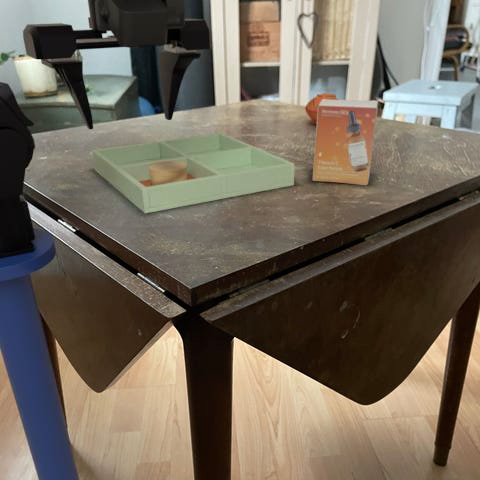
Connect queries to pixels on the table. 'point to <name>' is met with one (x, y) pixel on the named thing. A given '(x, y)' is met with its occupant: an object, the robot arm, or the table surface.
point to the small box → (344, 141)
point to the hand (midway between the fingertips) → (130, 124)
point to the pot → (313, 105)
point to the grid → (192, 170)
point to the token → (167, 172)
